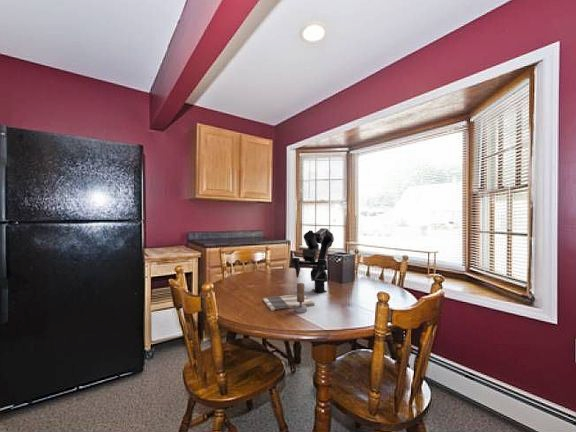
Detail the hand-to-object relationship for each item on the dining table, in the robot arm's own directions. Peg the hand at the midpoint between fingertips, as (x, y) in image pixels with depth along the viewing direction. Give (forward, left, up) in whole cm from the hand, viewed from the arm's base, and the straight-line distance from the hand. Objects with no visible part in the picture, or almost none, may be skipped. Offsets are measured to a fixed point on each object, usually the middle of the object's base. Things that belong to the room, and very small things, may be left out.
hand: (305, 278), depth 137 cm
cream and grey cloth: (-6, -7, -13) cm, 17 cm away
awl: (+6, -5, -13) cm, 16 cm away
